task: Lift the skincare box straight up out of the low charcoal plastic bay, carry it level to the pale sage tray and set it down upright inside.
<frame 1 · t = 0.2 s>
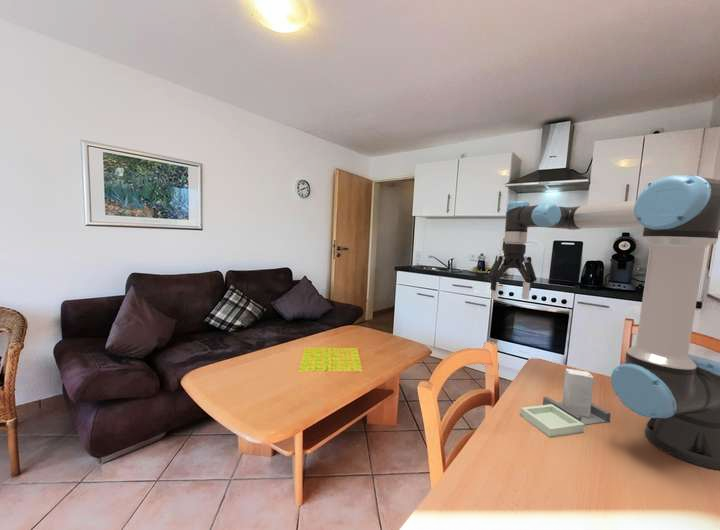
hand: (509, 299, 117), 28 cm above the table, fingers open, 13 cm apart
tray: (550, 423, 84), on the table
bay: (574, 412, 90), on the table
skincare box: (574, 412, 90), resting on bay
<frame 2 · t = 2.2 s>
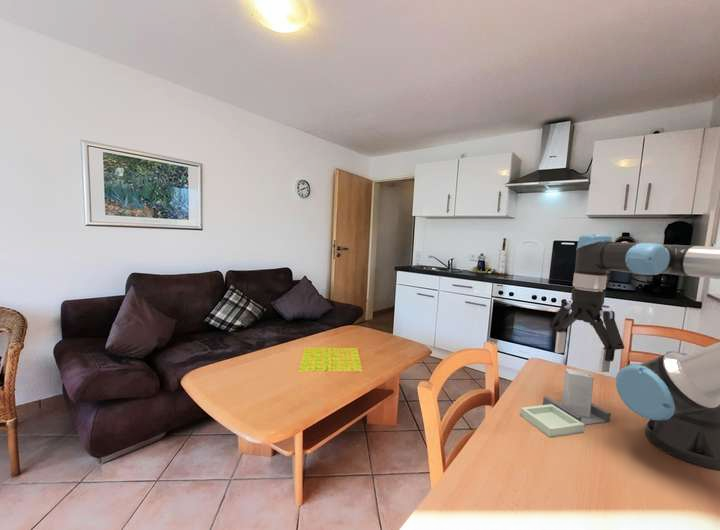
hand: (579, 361, 89), 16 cm above the table, fingers open, 13 cm apart
nothing on the table moved.
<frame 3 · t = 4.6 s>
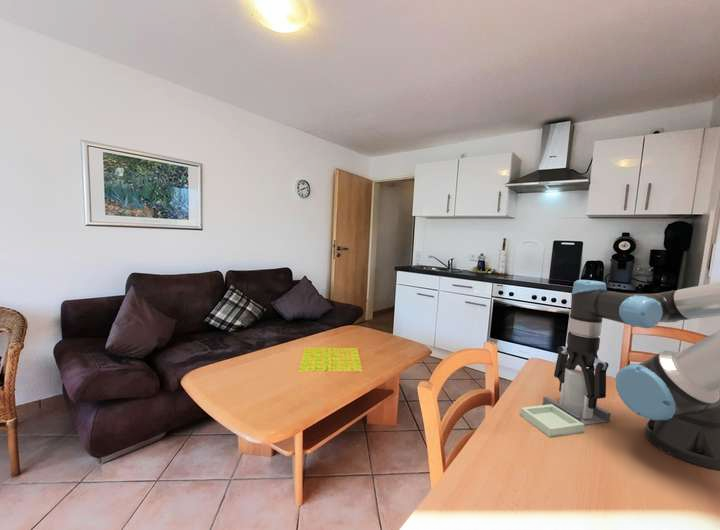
hand: (575, 410, 90), 1 cm above the table, fingers closed on skincare box, 7 cm apart
skincare box: (574, 412, 90), resting on bay, touching gripper
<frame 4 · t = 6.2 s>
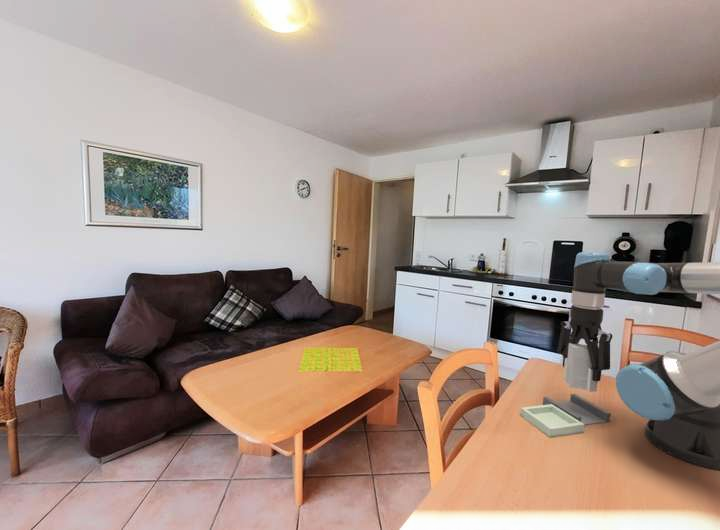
hand: (579, 384, 89), 9 cm above the table, fingers closed on skincare box, 7 cm apart
skincare box: (578, 387, 89), point 8 cm above the table, touching gripper
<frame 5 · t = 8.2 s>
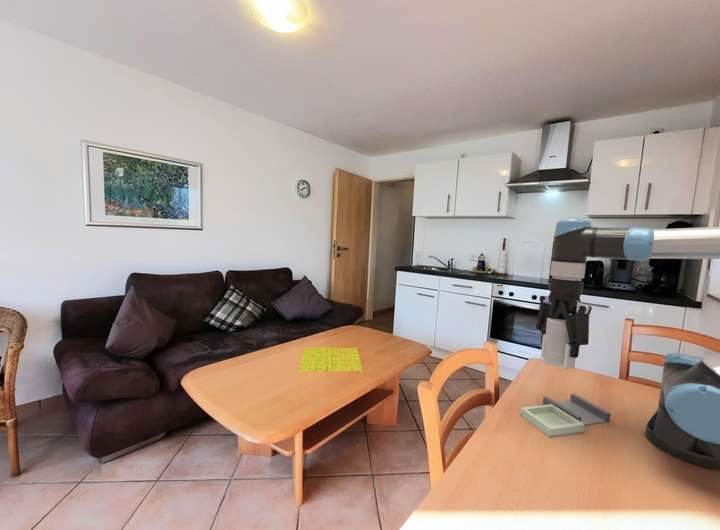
hand: (556, 362, 83), 17 cm above the table, fingers closed on skincare box, 7 cm apart
skincare box: (556, 364, 83), point 16 cm above the table, touching gripper
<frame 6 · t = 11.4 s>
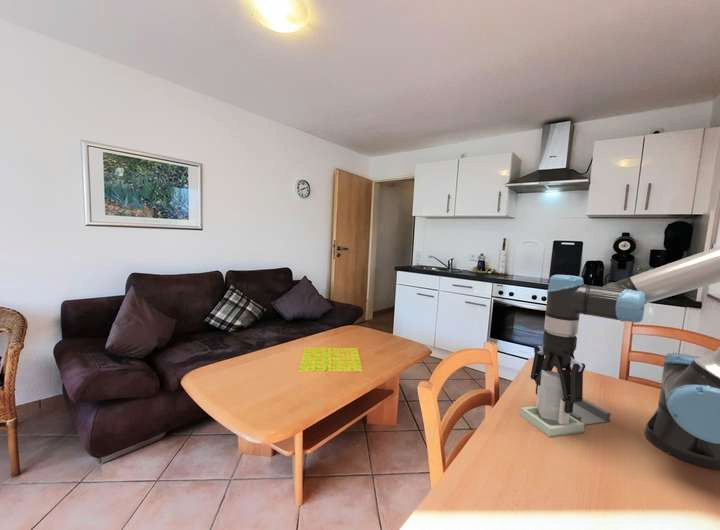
hand: (551, 414, 84), 2 cm above the table, fingers closed on skincare box, 7 cm apart
skincare box: (551, 417, 84), point 2 cm above the table, touching gripper
when the fingers open (2 cm above the table, at t = 11.8 s): skincare box drops 1 cm, resting on tray.
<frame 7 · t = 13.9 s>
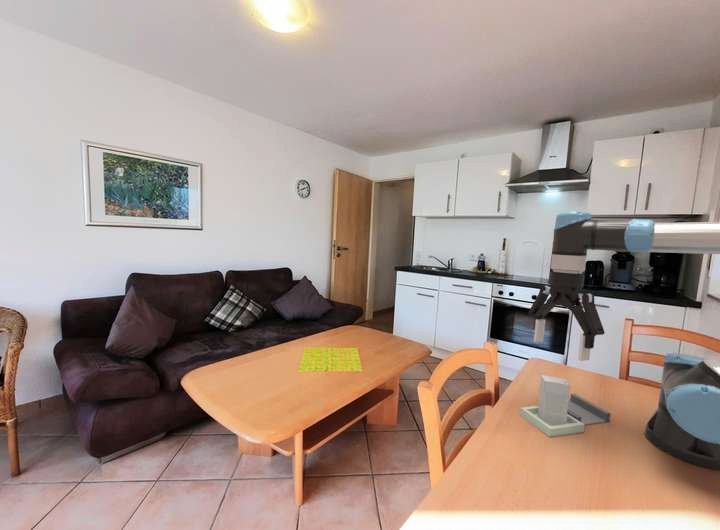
hand: (559, 350, 82), 21 cm above the table, fingers open, 13 cm apart
skincare box: (550, 422, 84), resting on tray
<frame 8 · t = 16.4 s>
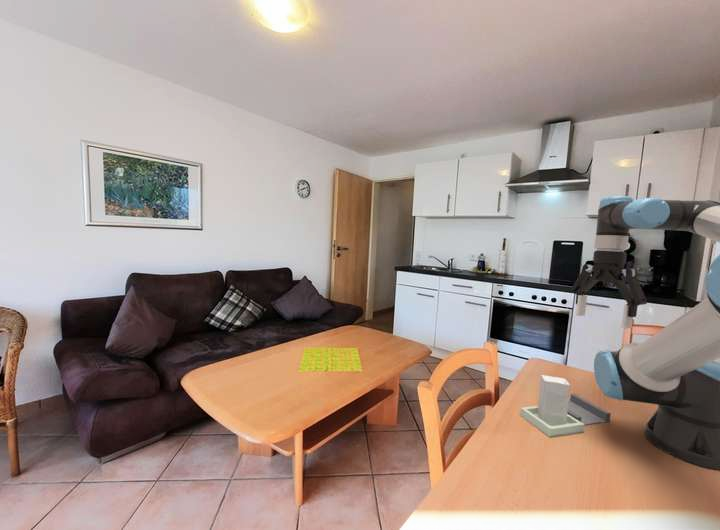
hand: (601, 321, 92), 27 cm above the table, fingers open, 13 cm apart
nothing on the table moved.
at the end: skincare box inside the target area on the tray (0.1 cm from its centre), point 0.3 cm above the tray's base; skincare box tilted 0°; the gripper is holding nothing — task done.
